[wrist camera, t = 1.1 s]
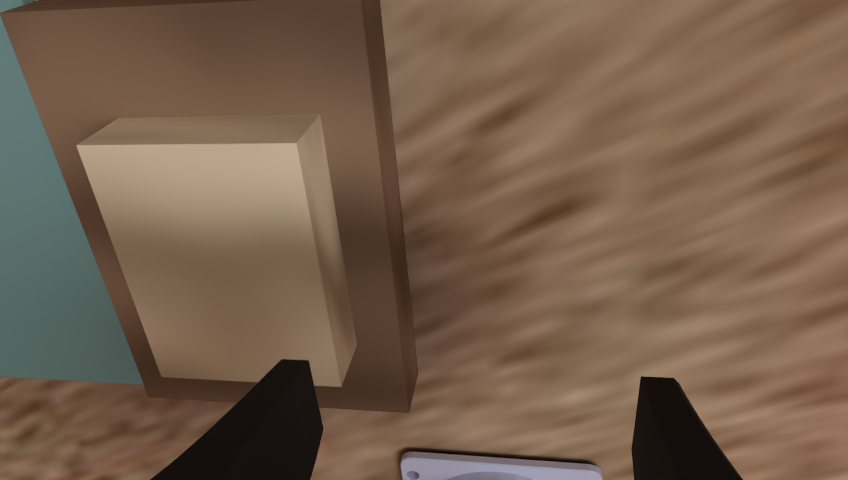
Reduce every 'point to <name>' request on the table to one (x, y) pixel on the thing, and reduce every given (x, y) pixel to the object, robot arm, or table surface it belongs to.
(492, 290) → the table surface
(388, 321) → the board
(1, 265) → the teal mat
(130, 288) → the block
